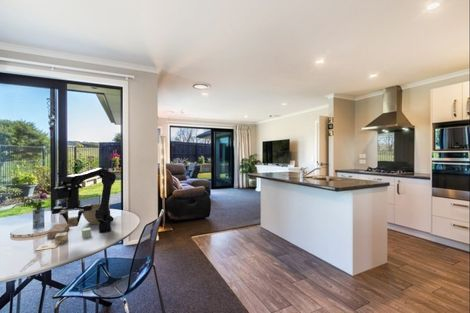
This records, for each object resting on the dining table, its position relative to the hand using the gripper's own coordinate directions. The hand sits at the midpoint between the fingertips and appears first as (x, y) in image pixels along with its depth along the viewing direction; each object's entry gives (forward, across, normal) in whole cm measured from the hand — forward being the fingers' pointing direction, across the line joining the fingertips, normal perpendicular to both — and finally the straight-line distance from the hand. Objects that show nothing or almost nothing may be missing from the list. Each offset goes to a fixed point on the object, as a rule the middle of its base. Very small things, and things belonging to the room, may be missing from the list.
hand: (73, 223), depth 131 cm
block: (+12, -5, -10) cm, 17 cm away
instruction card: (+12, +12, -1) cm, 17 cm away
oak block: (+12, +7, -7) cm, 16 cm away
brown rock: (+12, +12, -24) cm, 29 cm away
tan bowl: (+12, -8, -38) cm, 41 cm away
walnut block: (+1, 0, 0) cm, 1 cm away
